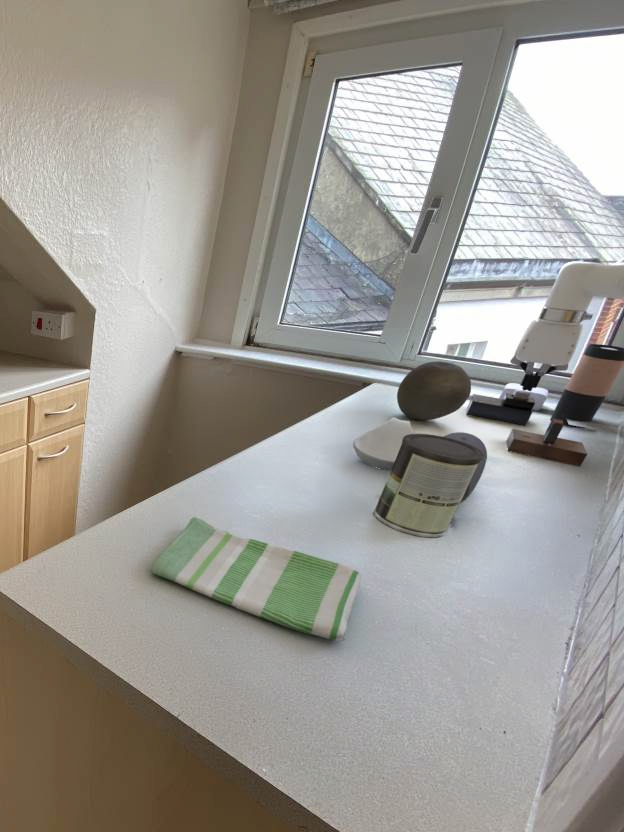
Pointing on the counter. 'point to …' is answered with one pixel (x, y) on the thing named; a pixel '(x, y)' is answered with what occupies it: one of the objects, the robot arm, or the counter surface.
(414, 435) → the coffee can
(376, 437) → the spoon rest
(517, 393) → the toaster lever
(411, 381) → the dark brown rounded piece
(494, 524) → the counter surface
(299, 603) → the dish towel
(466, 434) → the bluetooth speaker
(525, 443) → the brown wooden block
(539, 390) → the charger
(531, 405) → the toaster
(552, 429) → the browning knob
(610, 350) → the travel mug
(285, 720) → the counter surface
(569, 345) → the robot arm
